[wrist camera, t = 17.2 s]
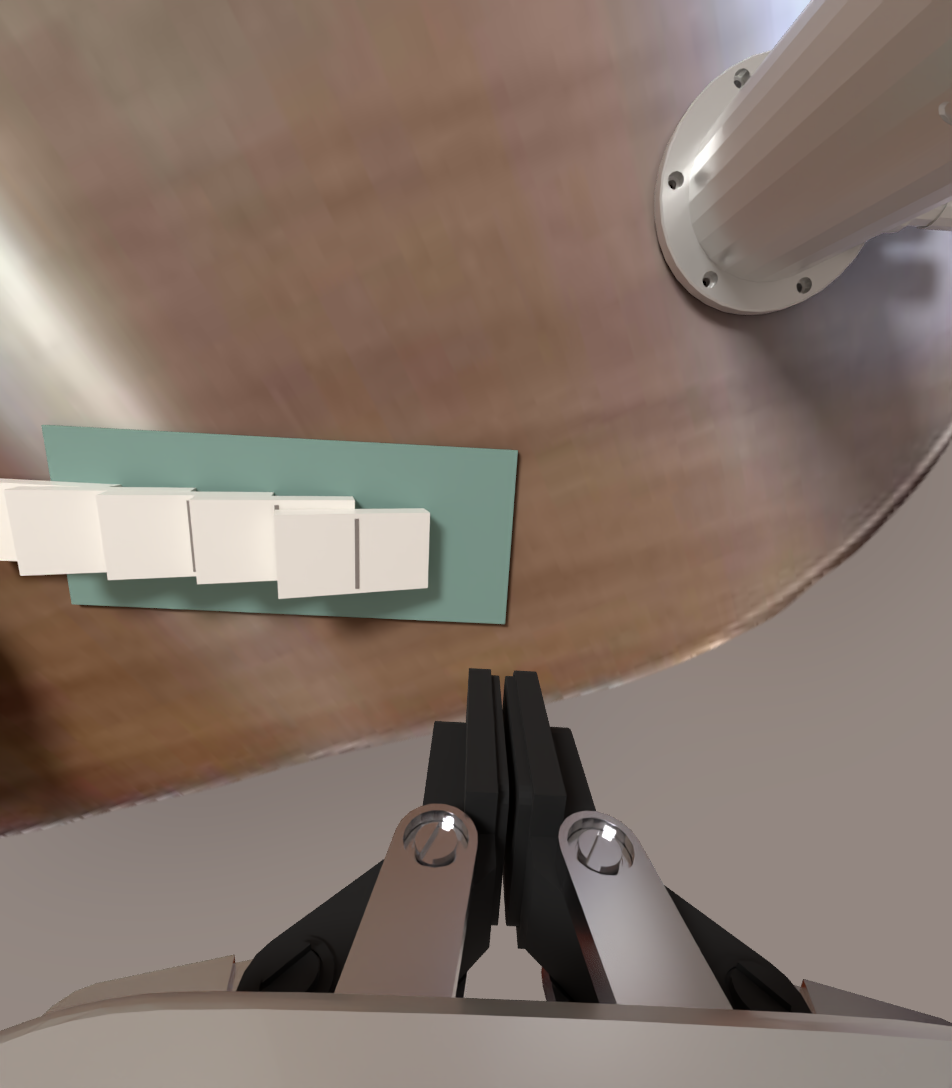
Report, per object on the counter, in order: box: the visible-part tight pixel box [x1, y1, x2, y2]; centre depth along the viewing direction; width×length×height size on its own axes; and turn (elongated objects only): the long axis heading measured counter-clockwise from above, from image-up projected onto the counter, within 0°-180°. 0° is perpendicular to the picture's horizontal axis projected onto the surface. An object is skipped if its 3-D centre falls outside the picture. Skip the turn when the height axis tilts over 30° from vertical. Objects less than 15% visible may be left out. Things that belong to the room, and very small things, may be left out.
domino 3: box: [96, 491, 274, 580], centre depth 28 cm, size 2×5×9 cm
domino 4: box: [189, 495, 355, 584], centre depth 29 cm, size 2×5×9 cm
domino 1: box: [0, 479, 122, 561], centre depth 30 cm, size 2×5×9 cm
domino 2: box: [4, 486, 196, 576], centre depth 28 cm, size 2×5×9 cm
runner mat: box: [41, 425, 518, 624], centre depth 31 cm, size 30×12×1 cm, turn 87°
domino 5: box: [274, 508, 430, 599], centre depth 29 cm, size 2×5×9 cm
